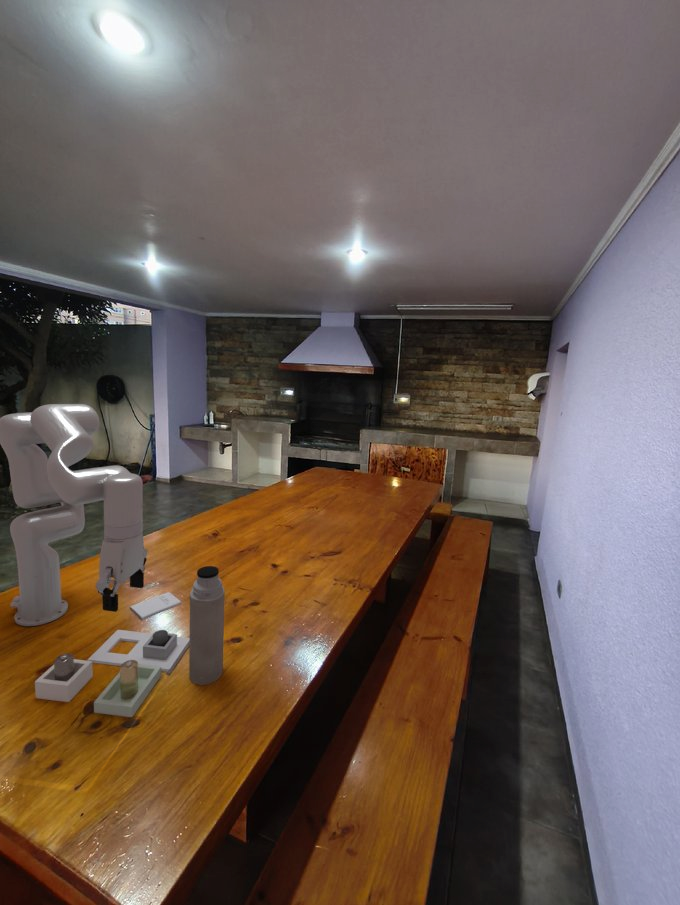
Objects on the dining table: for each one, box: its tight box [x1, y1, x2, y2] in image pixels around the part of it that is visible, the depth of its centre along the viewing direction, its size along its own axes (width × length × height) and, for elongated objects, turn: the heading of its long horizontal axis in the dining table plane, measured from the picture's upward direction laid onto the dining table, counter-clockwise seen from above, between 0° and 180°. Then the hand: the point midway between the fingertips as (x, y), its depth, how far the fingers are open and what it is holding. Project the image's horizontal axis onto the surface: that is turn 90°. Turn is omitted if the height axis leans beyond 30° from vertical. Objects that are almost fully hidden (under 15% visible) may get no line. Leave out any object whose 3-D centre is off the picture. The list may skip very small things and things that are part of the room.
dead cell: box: [53, 653, 75, 682], centre depth 89 cm, size 4×4×8 cm
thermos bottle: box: [188, 565, 226, 686], centre depth 96 cm, size 8×8×28 cm
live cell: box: [119, 660, 138, 700], centre depth 88 cm, size 4×4×8 cm
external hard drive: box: [129, 591, 182, 621], centre depth 124 cm, size 2×8×12 cm
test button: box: [152, 629, 169, 647], centre depth 102 cm, size 4×4×4 cm
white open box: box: [34, 658, 94, 703], centre depth 89 cm, size 8×8×5 cm
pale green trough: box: [93, 664, 162, 718], centre depth 89 cm, size 8×12×3 cm
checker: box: [87, 629, 190, 676], centre depth 103 cm, size 21×12×4 cm, turn 86°
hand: (124, 598), depth 90 cm, fingers open, 9 cm apart
